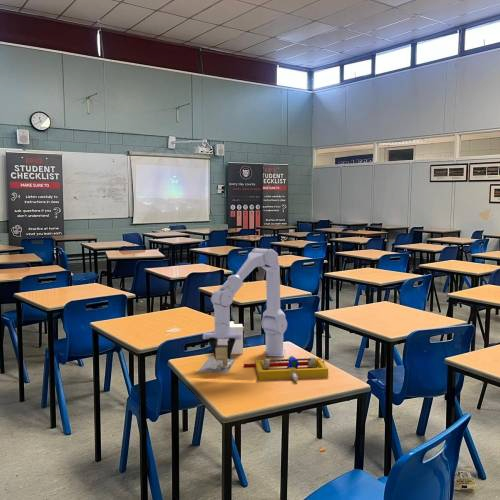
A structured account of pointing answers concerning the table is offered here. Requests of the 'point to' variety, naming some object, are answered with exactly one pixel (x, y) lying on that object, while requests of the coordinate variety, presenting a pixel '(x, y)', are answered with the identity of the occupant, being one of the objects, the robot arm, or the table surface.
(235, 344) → the corner bracket
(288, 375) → the mechanical clamp
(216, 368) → the shaft stand
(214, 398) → the table surface
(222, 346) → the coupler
